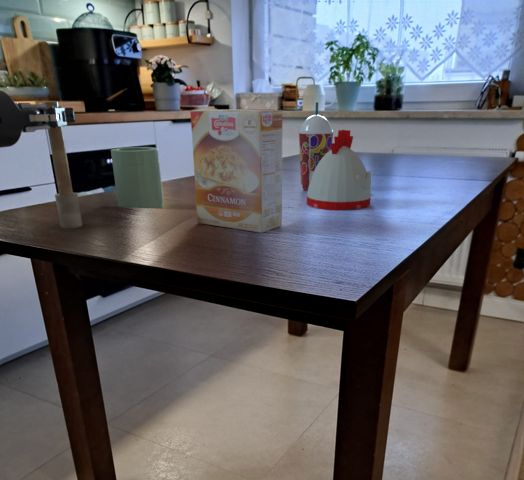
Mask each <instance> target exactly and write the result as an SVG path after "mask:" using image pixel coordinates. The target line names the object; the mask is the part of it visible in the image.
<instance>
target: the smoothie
mask: <svg viewBox="0 0 524 480" xmlns="http://www.w3.org/2000/svg"><path fill="white" fill-rule="evenodd" d="M314 111H315V113H314V114H313V115H310V116H309V117H307V118H306V119H305V120H304V121H303V122H302V124H301V127H300V129H299V130H298V140H299V141H298V142H299V143H298V144H299V169H300V172H299V173H300V185H301V186H302V190H304V191H306V192H308V188H309V184H310V173H311V171H314V170H315V168H316V166H317V165H318V163H319V162H320V160H321V159H322V158H323V157H324V155H325V154H326V153H328V152H329V151H330V150H331V143H333V140H334V130H333V128H332V126H331V123H330V121H329V120H328V119H327V118H326V117H325V116H322V115H320V114H319V102H315V110H314Z"/></svg>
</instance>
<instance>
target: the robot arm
mask: <svg viewBox="0 0 524 480" xmlns="http://www.w3.org/2000/svg"><path fill="white" fill-rule="evenodd" d="M73 123H76V115H75V109H74V108H73V107H62V106H58V107H56V106H52V107H49V108H48V107H47V106H46V105H45V104H43V103H34V104H31V103H30V102H16V101H14V99H13V98H12V97H11V96H10V95H9V94H8V93H6V92H5V91H3V90H1V89H0V149H3V148H9V147H12V146H15V145H16V144H17V143H18V142H19V140H20V138H21V135H22V133H35V132H36V131H39V130H40V131H41V130H42V131H43V130H48V129H50V127H52V128H56V127H60V126H62V127H65V126H68V124H73Z"/></svg>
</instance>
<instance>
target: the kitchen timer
mask: <svg viewBox="0 0 524 480" xmlns="http://www.w3.org/2000/svg"><path fill="white" fill-rule="evenodd" d="M333 140H334V141H333V142H332V143H331V150H330V151H329V152H328V153H326V154H325V155H324V157H323V158H322V159H321V160H320V162H319V163H318V165H317V166H316V168H315V170H314V171H311V173H310V184H309V188H308V191H306V205H307V206H308V207H311V208H315V209H320V210H329V211H350V210H349V209H355V210H360V209H359V208H362V209H365V208H364V207H366V208H368V207H370V206H371V196H372V191H371V186H372V176H371V175H372V173H371V171H370V170H368V171H367V169H366V166H365V164H364V163H363V161H362V158H360V156H359V155H358V154H357V153H356V152H355V151H354V150H353V149H351V148H352V145H353V140H354V136H353V135H351V130H349V129H348V130H347V129H338V131H337V136H333ZM369 205H370V206H369ZM347 209H348V210H347Z"/></svg>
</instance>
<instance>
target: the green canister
mask: <svg viewBox="0 0 524 480" xmlns="http://www.w3.org/2000/svg"><path fill="white" fill-rule="evenodd" d="M110 154H111V162H112V163H111V164H112V169H113V177H114V186H115V192H116V200H117V205H118V208H133V209H157V210H158V209H160V210H163V209H164V197H163V185H162V175H161V164H160V163H161V162H160V154H159V148H158V147H152V146H128V147H117V148H112V149H110Z"/></svg>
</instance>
